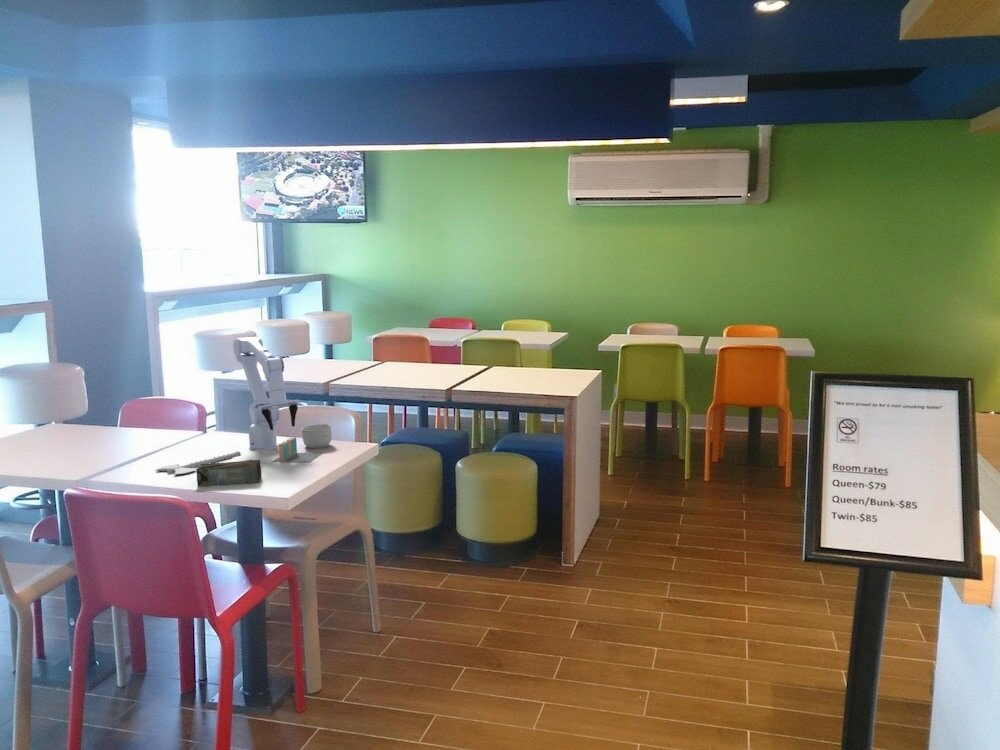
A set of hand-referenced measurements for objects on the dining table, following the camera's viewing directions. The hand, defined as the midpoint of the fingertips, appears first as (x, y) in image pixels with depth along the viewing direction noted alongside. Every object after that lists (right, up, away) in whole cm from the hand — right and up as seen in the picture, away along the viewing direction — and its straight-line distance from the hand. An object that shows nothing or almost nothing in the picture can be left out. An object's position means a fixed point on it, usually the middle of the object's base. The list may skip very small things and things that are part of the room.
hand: (282, 428), depth 305 cm
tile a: (+3, -10, +1) cm, 10 cm away
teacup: (+9, -8, +15) cm, 20 cm away
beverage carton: (-9, -16, -32) cm, 37 cm away
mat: (+6, -11, -3) cm, 13 cm away
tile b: (+2, -11, -6) cm, 13 cm away
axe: (-25, -13, -9) cm, 30 cm away
